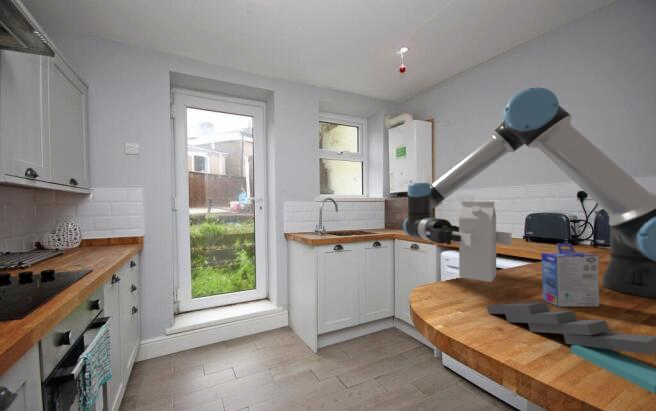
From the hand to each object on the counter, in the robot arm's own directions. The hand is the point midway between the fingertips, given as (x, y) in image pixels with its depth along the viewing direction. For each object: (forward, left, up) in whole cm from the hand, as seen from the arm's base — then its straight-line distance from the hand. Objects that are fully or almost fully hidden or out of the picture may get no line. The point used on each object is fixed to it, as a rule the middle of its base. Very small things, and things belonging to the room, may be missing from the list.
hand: (491, 239), depth 64 cm
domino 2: (-2, +7, -15) cm, 17 cm away
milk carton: (+2, -4, -10) cm, 11 cm away
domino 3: (-4, +10, -15) cm, 19 cm away
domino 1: (0, +2, -15) cm, 16 cm away
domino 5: (-7, +18, -16) cm, 25 cm away
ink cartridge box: (-20, -6, -16) cm, 26 cm away
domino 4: (-7, +15, -15) cm, 23 cm away
